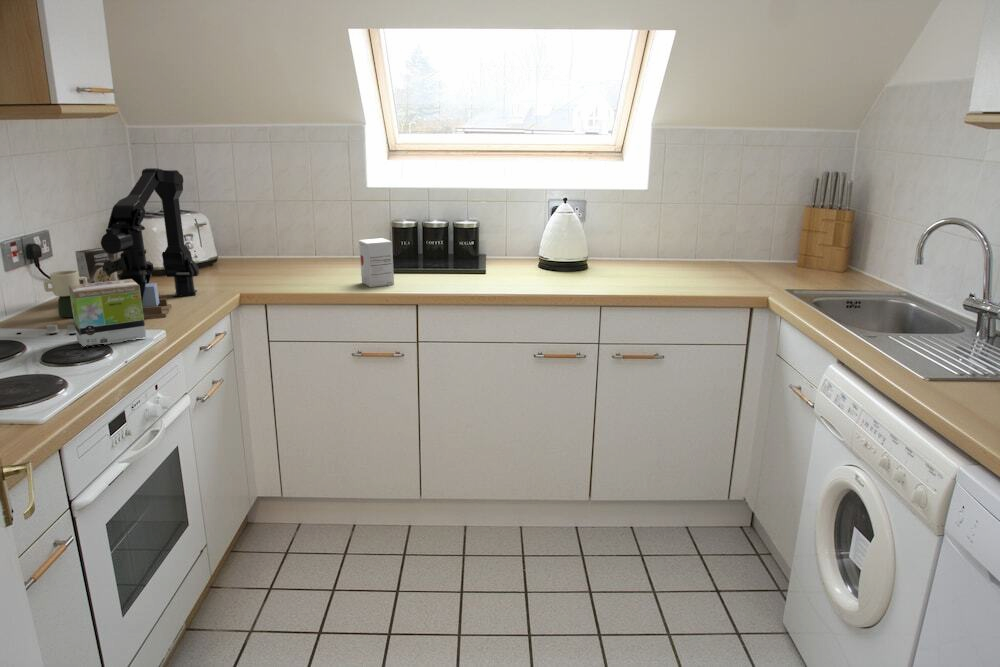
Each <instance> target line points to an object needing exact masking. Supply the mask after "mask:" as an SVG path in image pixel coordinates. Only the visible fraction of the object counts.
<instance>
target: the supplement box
mask: <svg viewBox="0 0 1000 667" xmlns="http://www.w3.org/2000/svg"><path fill="white" fill-rule="evenodd" d="M358 244H359V246H358V247H359V258H360V259H359V262H360V276H361V283H362V284H363V285H366V286H367V287H369V288H375V287H383V286H389V285H390V286H391V285H395V276H394V275H395V274H394V258H393V257H394V256H393V255H394V254H393V241H392V240H390V239H389V240H388V239H385V237H379V238H369V239H368V238H367V239H366V238H365V239H359V240H358Z"/></svg>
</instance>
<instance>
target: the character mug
mask: <svg viewBox="0 0 1000 667" xmlns="http://www.w3.org/2000/svg"><path fill="white" fill-rule="evenodd" d="M80 280H83V282H84V284H88V283H87V278H86V277H79V273H78V270H58V271H54V272H51V273H50V274H49V279H47V280H43V287H44V288H43V289H44V291H45V292H47V293H49V292H52V293H53V295H54V296H56V297H58V300H57V303H58V304H57V308H58V311H57V312H58V316H60V317H63V318H70V317H73V312H72V305H71V299H70V292H69V286H70V285H79V284H80ZM49 284H50V285H51V287H49Z"/></svg>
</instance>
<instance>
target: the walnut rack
mask: <svg viewBox="0 0 1000 667" xmlns="http://www.w3.org/2000/svg"><path fill="white" fill-rule="evenodd" d="M167 299H168V298H159V304H158V306H155V307H142V308H143V315H144V320H145V319H158V318H166V317H167V316H168V314H169V312H170V311H171V309H172V304H168V300H167Z"/></svg>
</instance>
